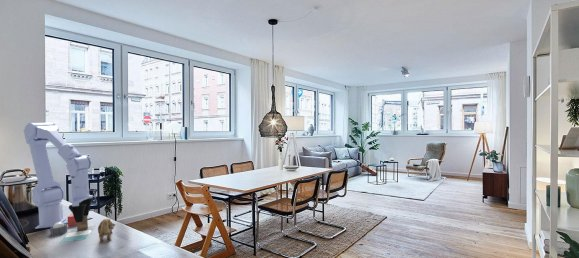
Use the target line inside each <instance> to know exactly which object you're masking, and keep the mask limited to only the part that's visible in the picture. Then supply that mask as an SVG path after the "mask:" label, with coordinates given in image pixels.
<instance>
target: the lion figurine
mask: <svg viewBox="0 0 579 258" xmlns="http://www.w3.org/2000/svg"><path fill="white" fill-rule="evenodd" d="M115 226H116V224H115V223H114V222H113V221H111V219H110V218H104V219H103V220H101V222H100V223H99V225H98V227H97V232H98V238H99V242H98V243H99V244H104V236H106V240H107V242H111V241H112V239H111V234H113V230H114V228H115Z"/></svg>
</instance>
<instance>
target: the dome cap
mask: <svg viewBox="0 0 579 258" xmlns="http://www.w3.org/2000/svg"><path fill="white" fill-rule="evenodd" d="M64 224H65V223H64V222H58V223H56V224H54V226H53V228H60V227H63V226H64Z"/></svg>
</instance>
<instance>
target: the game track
mask: <svg viewBox="0 0 579 258" xmlns="http://www.w3.org/2000/svg"><path fill="white" fill-rule="evenodd" d="M95 227H96V225H91V226H90V225H88V229H86V230H82V231H78V230H77V227H74V228H72V229H71V230H70V231H69V232H68V233H67V234H66V235H65V236H64V237H63V238H62V239H61V241H60V242H59V243H66V242H74V241H80V240H81V241H82V240H86V239H87V237H88V236H89V235H90V234H91V232H92V231H93V230H94V228H95Z"/></svg>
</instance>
